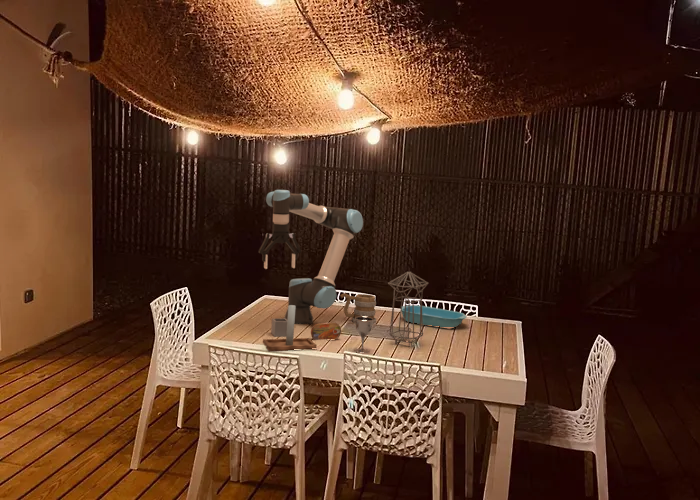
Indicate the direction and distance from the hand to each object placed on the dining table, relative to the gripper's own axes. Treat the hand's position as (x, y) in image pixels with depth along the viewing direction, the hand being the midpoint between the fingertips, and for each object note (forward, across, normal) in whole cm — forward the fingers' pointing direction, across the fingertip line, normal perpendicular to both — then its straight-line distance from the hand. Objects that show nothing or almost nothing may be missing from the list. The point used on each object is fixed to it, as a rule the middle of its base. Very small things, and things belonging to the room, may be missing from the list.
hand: (279, 268), depth 312 cm
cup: (+33, 0, +2) cm, 33 cm away
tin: (+33, -20, +12) cm, 41 cm away
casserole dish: (+36, -92, -10) cm, 99 cm away
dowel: (+32, +1, +20) cm, 37 cm away
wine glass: (+33, -30, +33) cm, 55 cm away
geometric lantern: (+34, -55, +25) cm, 69 cm away
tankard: (+35, -52, -22) cm, 66 cm away
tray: (+32, +1, +20) cm, 38 cm away
